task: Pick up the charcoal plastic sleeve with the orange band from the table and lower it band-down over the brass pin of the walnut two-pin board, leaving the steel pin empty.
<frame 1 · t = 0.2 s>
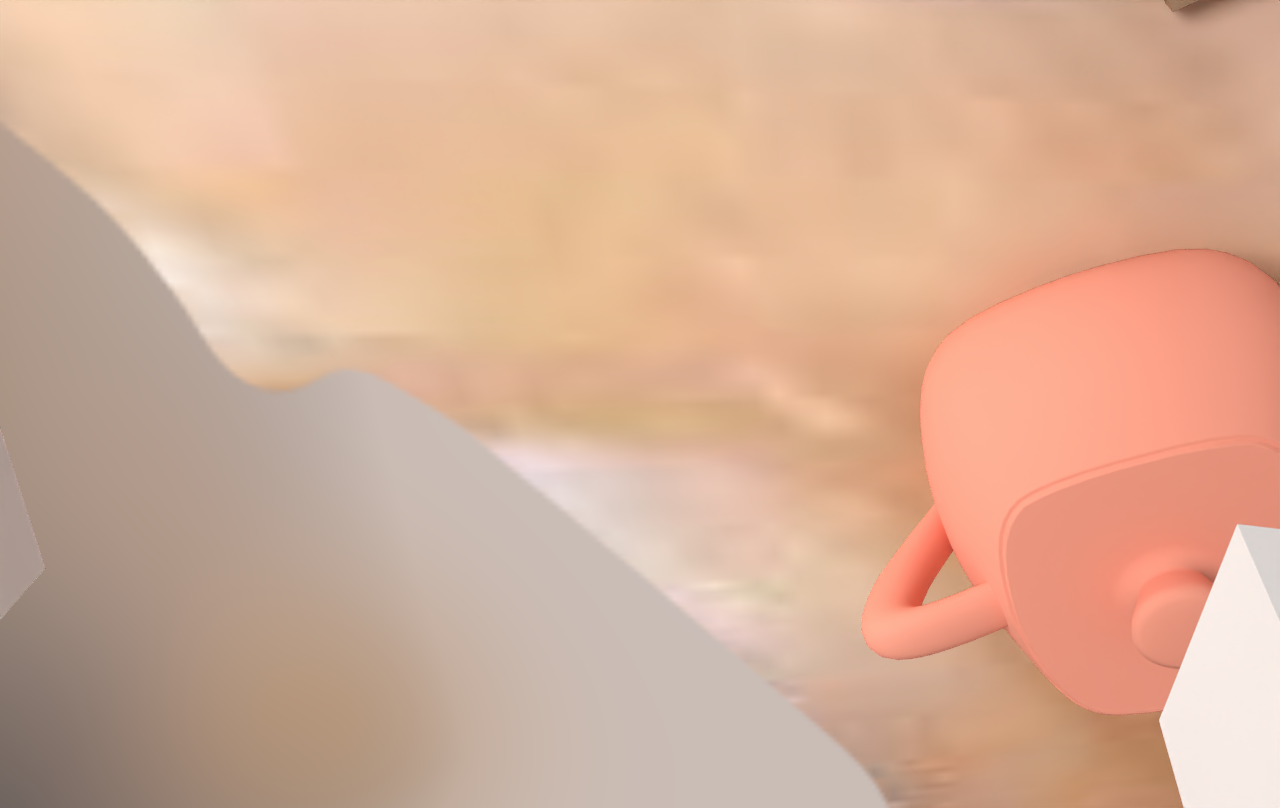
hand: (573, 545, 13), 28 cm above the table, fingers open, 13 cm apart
teapot: (1129, 387, 42), on the table
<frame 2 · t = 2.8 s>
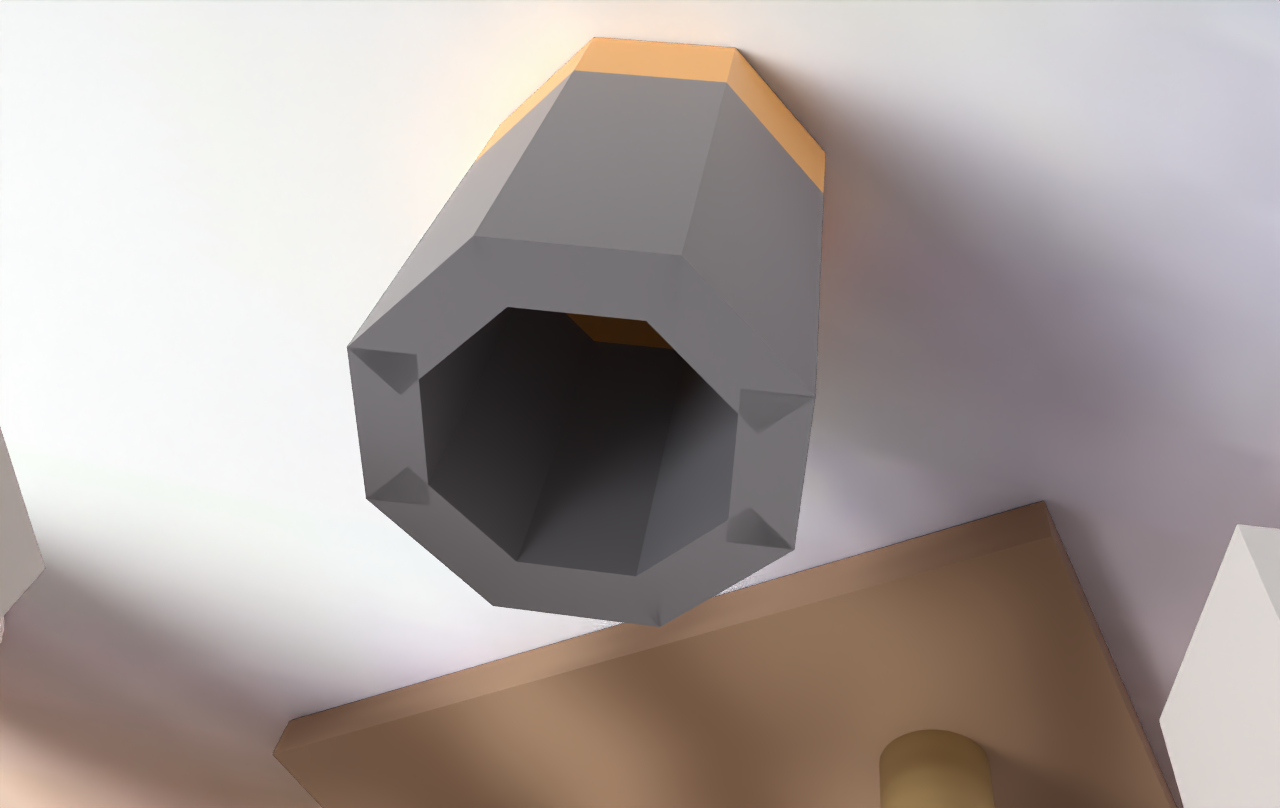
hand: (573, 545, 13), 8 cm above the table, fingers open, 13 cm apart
pin board: (719, 776, 27), on the table
sleeve: (657, 201, 19), on the table
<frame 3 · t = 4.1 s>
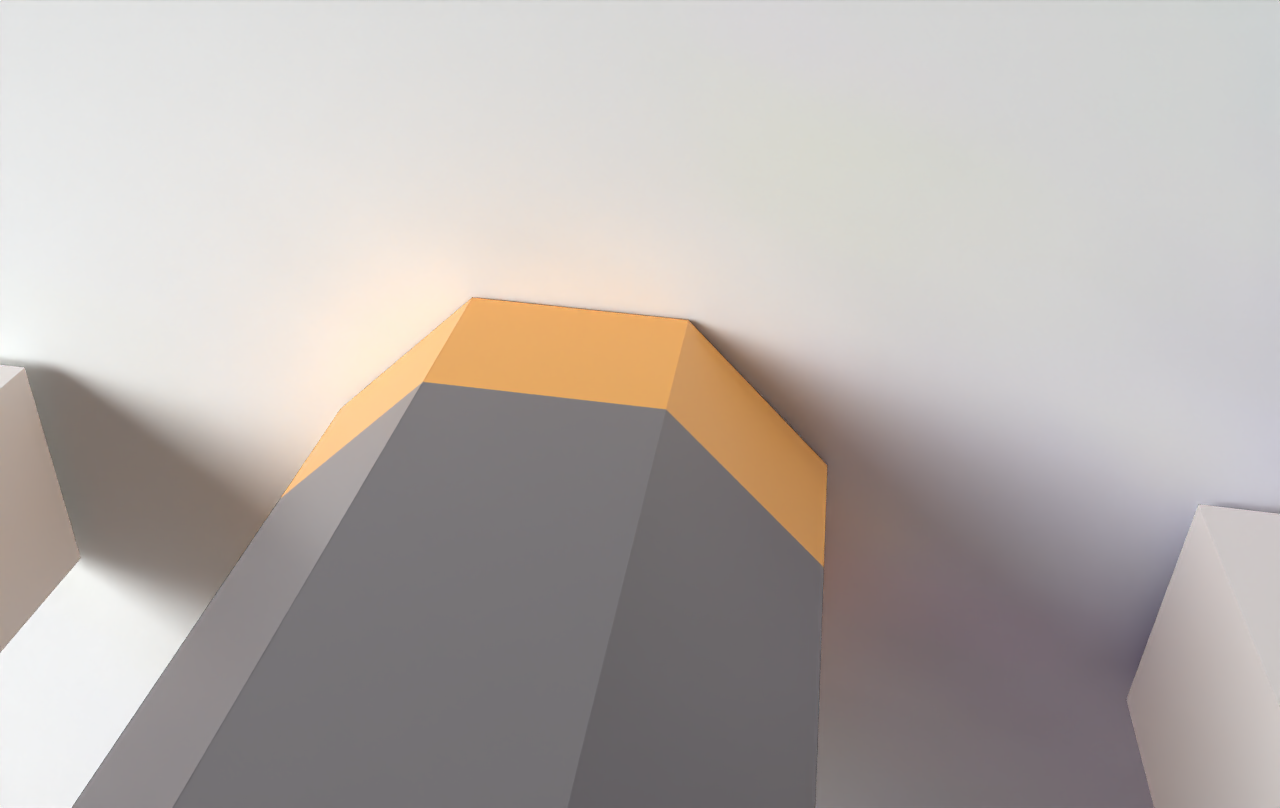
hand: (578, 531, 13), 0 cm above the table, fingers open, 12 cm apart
sleeve: (577, 516, 13), on the table
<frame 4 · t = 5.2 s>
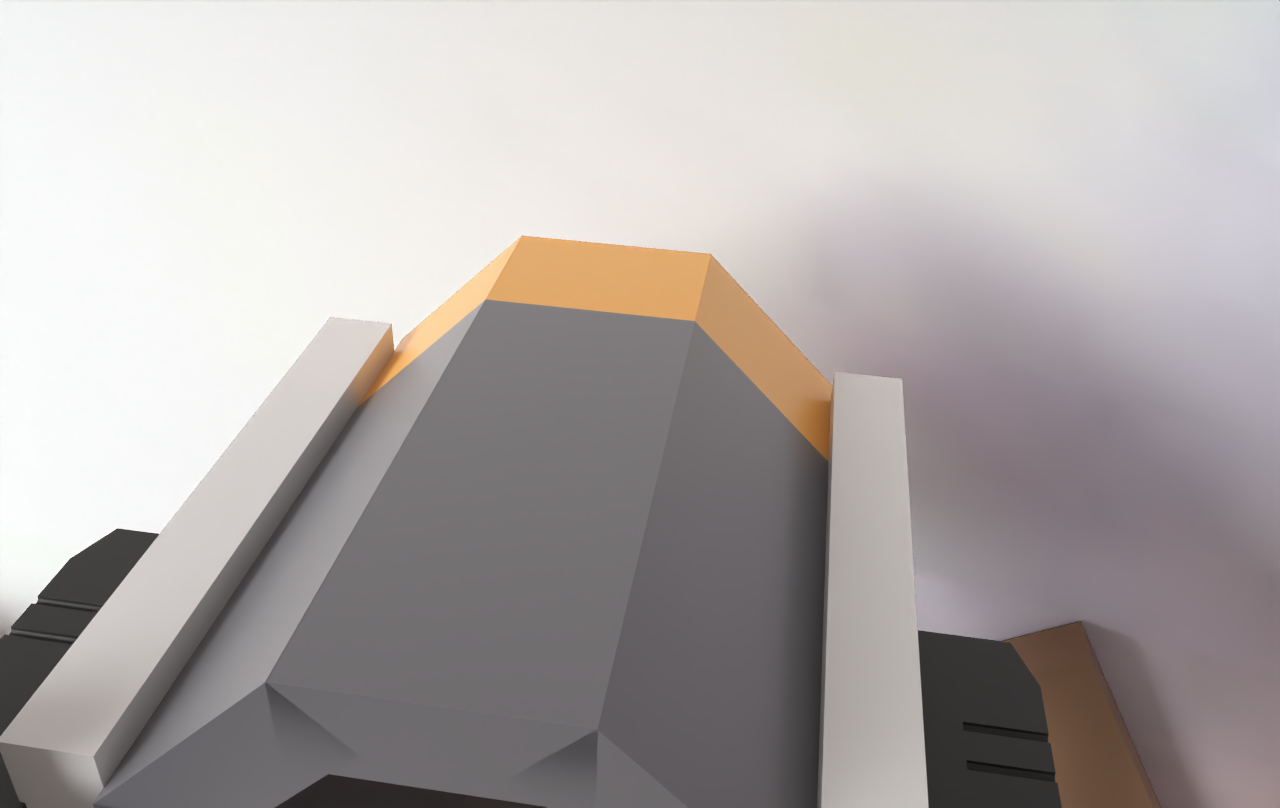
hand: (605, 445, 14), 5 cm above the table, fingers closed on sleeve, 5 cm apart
sleeve: (610, 435, 15), point 5 cm above the table, touching gripper
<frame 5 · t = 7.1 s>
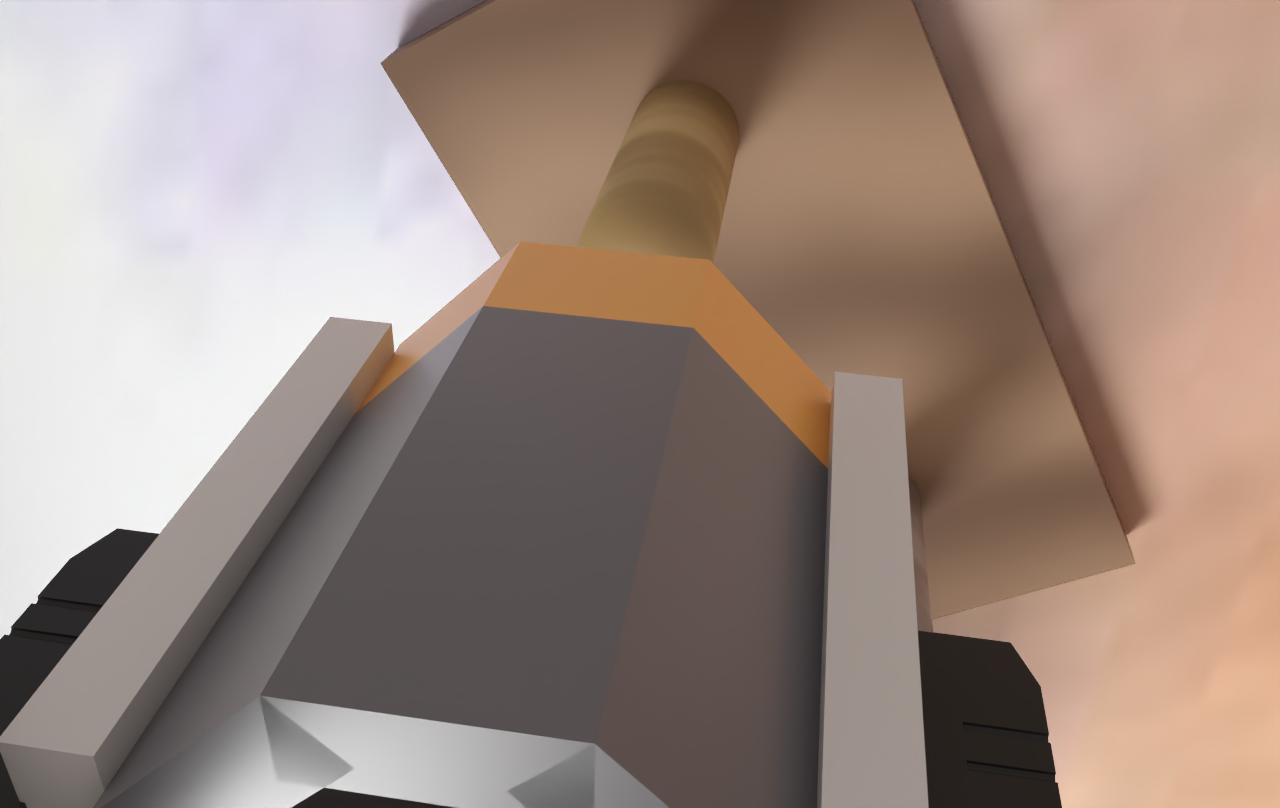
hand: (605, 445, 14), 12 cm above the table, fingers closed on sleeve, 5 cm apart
pin board: (788, 311, 27), on the table
sleeve: (609, 441, 15), point 12 cm above the table, touching gripper
when the fingers open (2 cm above the table, at t = 8.9 s): sleeve stays where it is, resting on pin board.
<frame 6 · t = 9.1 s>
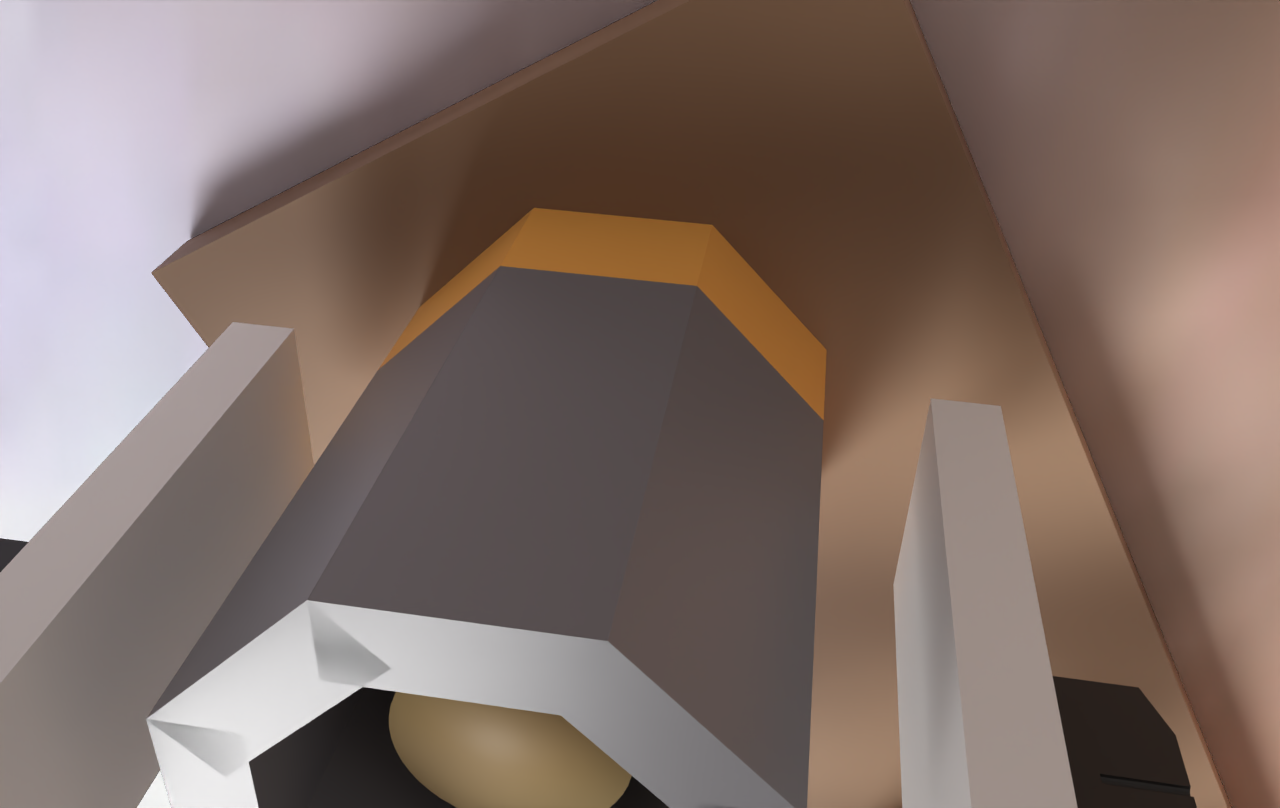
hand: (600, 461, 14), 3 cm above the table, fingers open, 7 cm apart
pin board: (785, 607, 18), on the table
sleeve: (617, 399, 15), point 1 cm above the table, touching pin board
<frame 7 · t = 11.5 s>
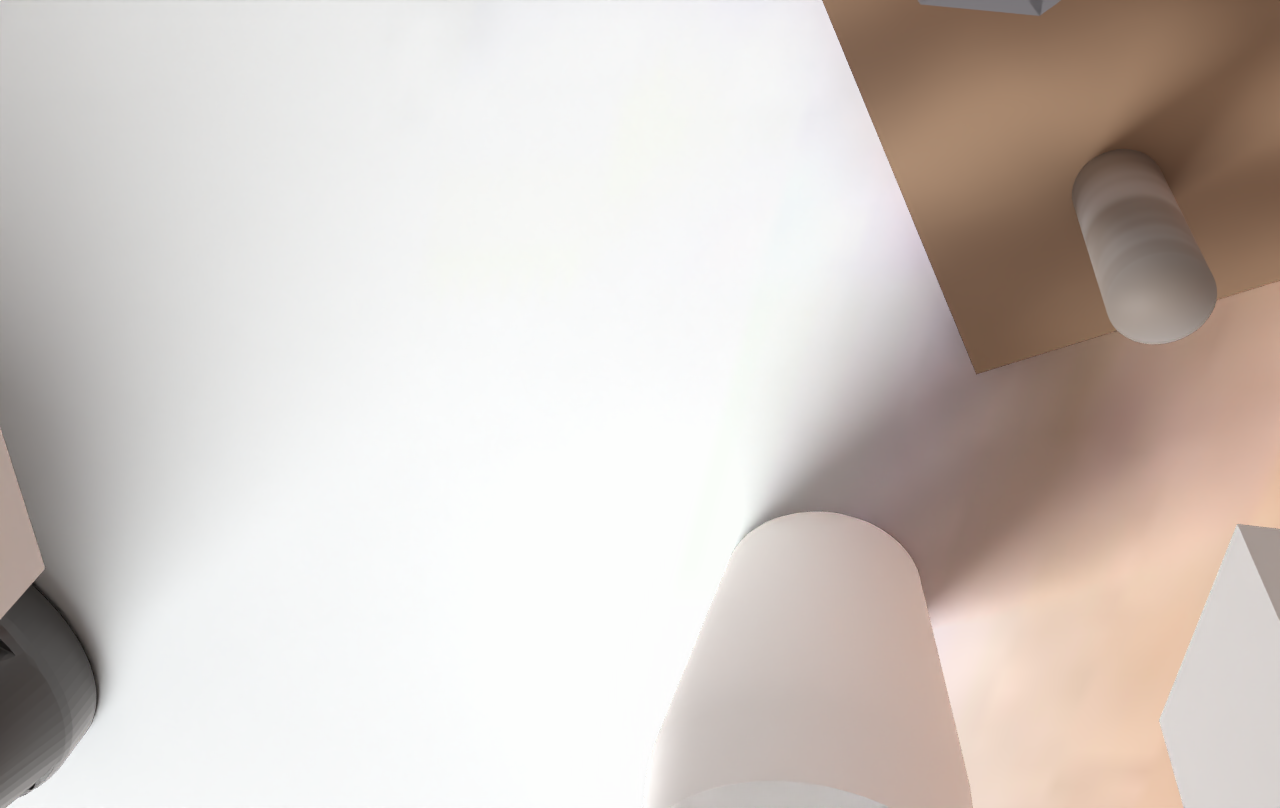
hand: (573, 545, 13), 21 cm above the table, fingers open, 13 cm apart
cup: (822, 580, 40), on the table
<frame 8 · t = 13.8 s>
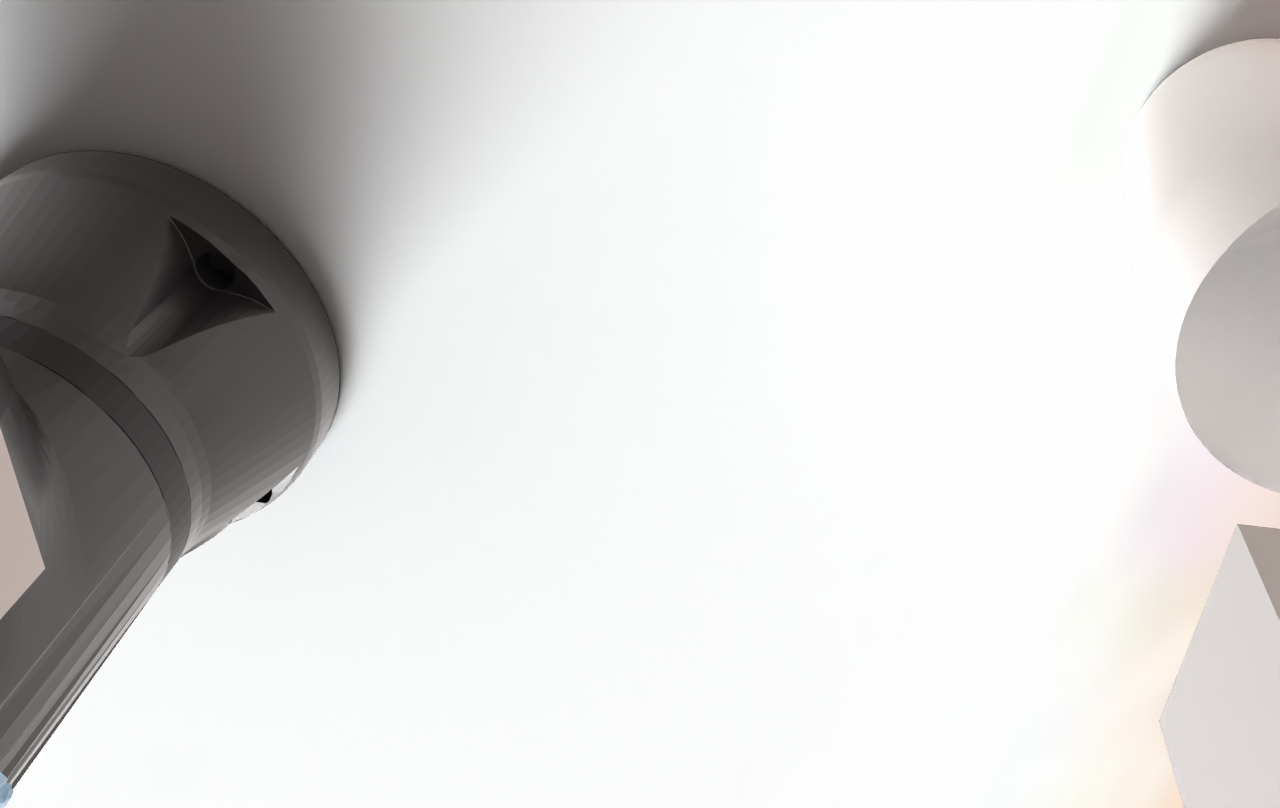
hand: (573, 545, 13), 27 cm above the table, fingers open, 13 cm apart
cup: (1237, 145, 36), on the table
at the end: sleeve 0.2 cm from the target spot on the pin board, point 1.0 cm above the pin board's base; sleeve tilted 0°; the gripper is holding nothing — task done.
